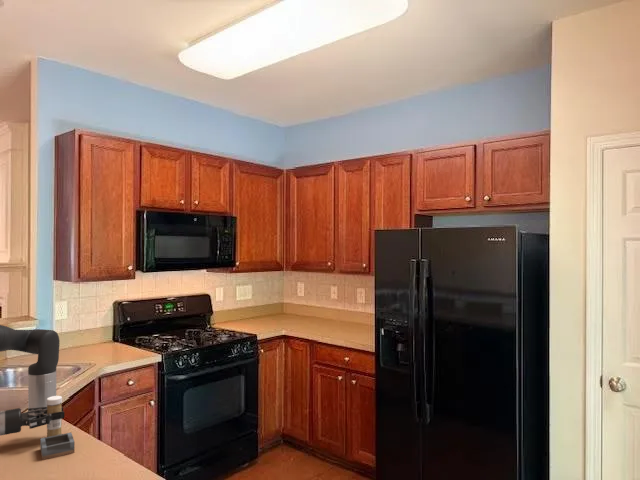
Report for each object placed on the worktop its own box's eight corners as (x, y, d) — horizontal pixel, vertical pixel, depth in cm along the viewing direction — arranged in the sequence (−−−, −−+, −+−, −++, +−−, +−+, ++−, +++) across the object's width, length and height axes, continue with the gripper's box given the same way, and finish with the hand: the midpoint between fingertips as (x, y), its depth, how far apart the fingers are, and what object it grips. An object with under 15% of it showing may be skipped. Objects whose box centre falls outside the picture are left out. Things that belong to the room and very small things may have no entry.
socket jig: (40, 449, 152) (40, 438, 152) (71, 442, 157) (71, 432, 157) (42, 459, 145) (42, 448, 145) (74, 452, 150) (74, 441, 150)
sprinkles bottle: (61, 433, 164) (61, 394, 164) (62, 438, 160) (62, 398, 160) (46, 436, 162) (46, 396, 162) (46, 441, 158) (46, 400, 158)
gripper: (3, 418, 147) (65, 407, 156) (3, 404, 159) (61, 395, 168) (3, 442, 147) (65, 430, 156) (3, 427, 159) (61, 416, 168)
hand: (63, 412), depth 162 cm, fingers closed on sprinkles bottle, 4 cm apart
